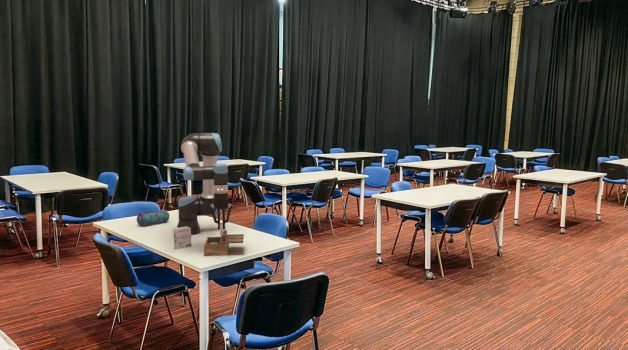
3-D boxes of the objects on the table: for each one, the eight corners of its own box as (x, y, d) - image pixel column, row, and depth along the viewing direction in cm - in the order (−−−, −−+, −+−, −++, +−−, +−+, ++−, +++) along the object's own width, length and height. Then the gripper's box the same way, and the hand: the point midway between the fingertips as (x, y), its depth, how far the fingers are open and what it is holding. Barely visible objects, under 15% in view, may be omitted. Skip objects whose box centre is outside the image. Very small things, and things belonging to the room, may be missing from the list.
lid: (221, 236, 268) (221, 229, 267) (243, 235, 269) (243, 228, 269) (219, 243, 251) (219, 236, 251) (243, 243, 253) (242, 236, 252)
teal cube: (209, 249, 264) (209, 242, 264) (217, 248, 265) (216, 241, 265) (210, 251, 260) (210, 244, 260) (217, 250, 262) (217, 243, 261)
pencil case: (162, 221, 342) (162, 207, 341) (169, 222, 336) (169, 209, 335) (136, 226, 325) (135, 212, 324) (143, 227, 320) (143, 213, 319)
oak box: (207, 249, 267) (207, 237, 267) (229, 248, 269) (228, 236, 268) (204, 257, 252) (203, 244, 251) (227, 256, 253) (227, 243, 252)
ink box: (187, 246, 274) (187, 225, 273) (191, 247, 271) (191, 227, 269) (173, 248, 269) (173, 228, 267) (177, 250, 265) (176, 229, 264)
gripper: (207, 193, 252) (208, 237, 255) (232, 193, 254) (233, 236, 256) (209, 191, 260) (210, 234, 262) (233, 191, 261) (234, 233, 264)
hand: (221, 235), depth 259 cm, fingers closed
